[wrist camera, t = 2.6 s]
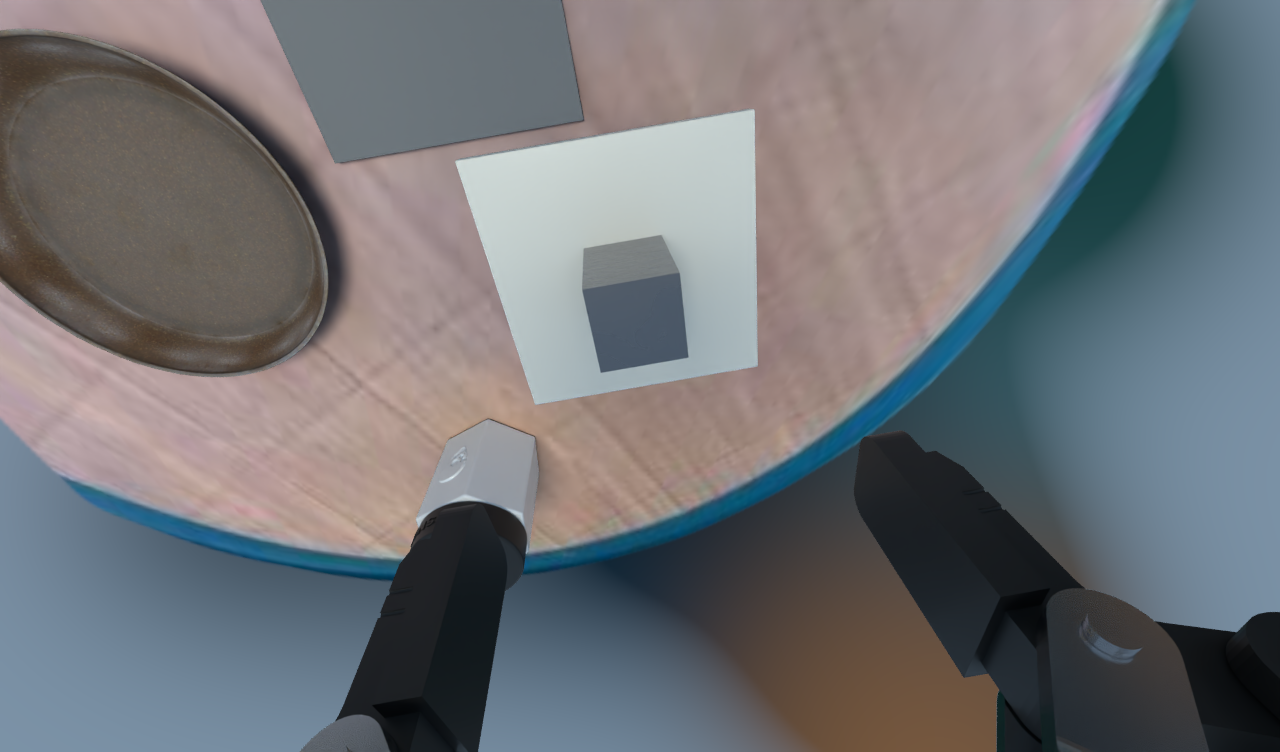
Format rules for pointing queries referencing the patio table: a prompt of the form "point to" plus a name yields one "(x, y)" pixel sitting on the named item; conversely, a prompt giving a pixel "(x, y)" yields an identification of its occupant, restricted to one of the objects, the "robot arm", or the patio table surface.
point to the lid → (624, 253)
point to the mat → (427, 69)
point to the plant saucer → (148, 213)
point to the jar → (488, 486)
